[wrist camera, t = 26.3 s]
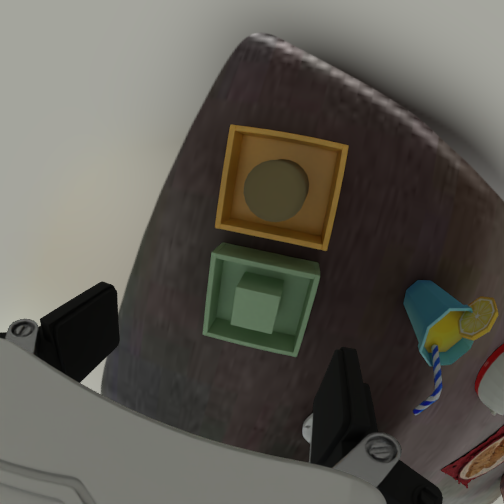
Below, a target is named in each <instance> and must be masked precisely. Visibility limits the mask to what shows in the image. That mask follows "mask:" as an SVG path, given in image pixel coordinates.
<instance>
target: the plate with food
mask: <svg viewBox="0 0 504 504" xmlns="http://www.w3.org/2000/svg"><path fill="white" fill-rule="evenodd" d="M503 462H504V426H503V427H502V428H500V429H499V431H498V432H497V433H496V434H495V435H493V436H492V437H490V438H489V439H488V441H486V442H484V443H483V444H481V445H480V446H478V447H477V448H476V449H474V450H472V451H470V452H469V454H467V455H466V456H465V457H461V458H460V459H459V460H457V461H456V462H454V464H451V465H448V466H446V467H445V468H443V469H442V470H441V471H442V472H444V473H445V474H446V473H447V474H448V475H450V476H452V477H453V478H454V479H455V480H458V482H459V483H458V484H460V482H461V483H462V484H463V485H465V486H466V488H468V487H467V486H468V485H467V484H468V483H469V482H470V481H471V480H472V479H475V478H476V477H479V476H481V475H483V474H485V473H487V472H488V471H490V470H492V469H494V468H495V467H497V466H498V465H500V464H501V463H503ZM455 465H457V466H456V467H454V468H452V467H453V466H455Z"/></svg>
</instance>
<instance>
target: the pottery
mask: <svg viewBox="0 0 504 504" xmlns="http://www.w3.org/2000/svg"><path fill="white" fill-rule="evenodd" d="M500 490H501V493H502V497H503V501H504V475H503V477H502V479H501V482H500Z"/></svg>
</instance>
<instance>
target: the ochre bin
mask: <svg viewBox="0 0 504 504" xmlns="http://www.w3.org/2000/svg"><path fill="white" fill-rule="evenodd" d="M348 147H349V146H348V145H345V144H340V143H336V142H332V141H327V140H323V139H318V138H313V137H308V136H303V135H297V134H292V133H286V132H280V131H274V130H268V129H261V128H254V127H246V126H238V125H230V130H229V136H228V142H227V148H226V154H225V160H224V167H223V173H222V180H221V187H220V193H219V200H218V207H217V215H216V222H215V228H218V229H223V230H228V231H233V232H238V233H243V234H248V235H253V236H258V237H262V238H267V239H272V240H277V241H282V242H286V243H291V244H296V245H301V246H305V247H310V248H315V249H319V250H321V249H322V250H324V251H327V248H328V244H329V240H330V236H331V231H332V227H333V223H334V218H335V214H336V209H337V204H338V200H339V195H340V190H341V185H342V180H343V175H344V170H345V164H346V159H347V153H348ZM279 159H286V160H291V161H293V162H296V163H298V164H299V165H300V166H301V167H302V168H303V169H304V171H305V172H306V174H307V176H308V180H309V191H308V194H307V196H306V199H305V201H304V203H303V206H302V208H301V209H300V210H299V211H298V213H297V214H296V215H295V216H293V217H291V218H289V219H288V220H286V221H280V222H270V221H265V220H263V219H261V218H259V217H257V216H256V215H255V214H254V213H253V212H252V211H251V210H250V209H249V207H248V205H247V204H246V202H245V197H244V193H243V192H244V183H245V180H246V178H247V175H248V174H249V173H250V171H251V170H252V169H253V168H254V167H255V166H257V165H259V164H260V163H262V162H265V161H270V160H279Z"/></svg>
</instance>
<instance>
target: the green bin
mask: <svg viewBox="0 0 504 504" xmlns="http://www.w3.org/2000/svg"><path fill="white" fill-rule="evenodd" d="M245 272H250V273H255V274H259V275H264V276H268V277H273V278H277V279H282V280H284V284H283V289H282V294H281V299H280V303H279V307H278V312H277V316H276V320H275V324H274V328H273V332H272V334H269V333H264V332H260V331H256V330H251V329H247V328H243V327H239V326H235V325H231V324H230V323H231V317H232V310H233V304H234V297H235V291H236V286H237V285H238V283H239V281H240V280H241V278H242V276H243V275H244V273H245ZM319 280H320V269H319V263H318V262H313V261H308V260H304V259H299V258H294V257H289V256H285V255H280V254H275V253H271V252H266V251H261V250H257V249H252V248H247V247H242V246H238V245H233V244H228V243H223V242H222V244H220V245H219V246H218V247H217V248H216V249H215V250H214V251H213V252H212V253H211V262H210V270H209V279H208V288H207V297H206V306H205V316H204V326H203V335H206V336H209V337H213V338H217V339H221V340H224V341H228V342H232V343H236V344H240V345H244V346H248V347H253V348H257V349H261V350H266V351H270V352H275V353H279V354H284V355H289V356H294V357H297V355H298V352H299V348H300V345H301V342H302V339H303V336H304V332H305V329H306V326H307V322H308V319H309V316H310V312H311V309H312V305H313V302H314V298H315V294H316V291H317V287H318V283H319Z"/></svg>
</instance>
